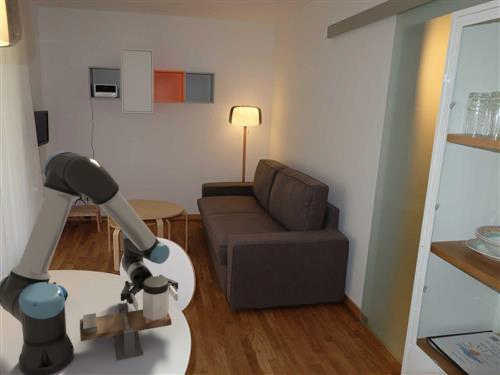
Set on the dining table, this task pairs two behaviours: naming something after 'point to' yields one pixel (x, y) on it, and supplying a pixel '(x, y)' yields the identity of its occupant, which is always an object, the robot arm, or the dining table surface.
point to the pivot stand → (127, 341)
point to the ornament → (63, 291)
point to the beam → (117, 324)
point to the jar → (155, 298)
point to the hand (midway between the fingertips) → (157, 301)
